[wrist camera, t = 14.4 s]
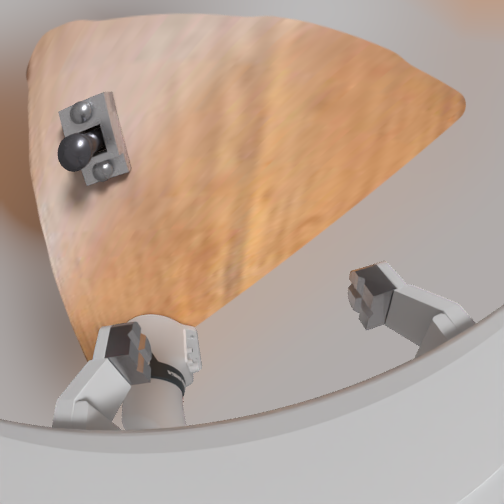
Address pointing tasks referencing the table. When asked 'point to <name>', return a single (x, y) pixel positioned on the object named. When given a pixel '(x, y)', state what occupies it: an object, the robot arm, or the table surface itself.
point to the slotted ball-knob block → (105, 114)
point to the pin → (79, 149)
